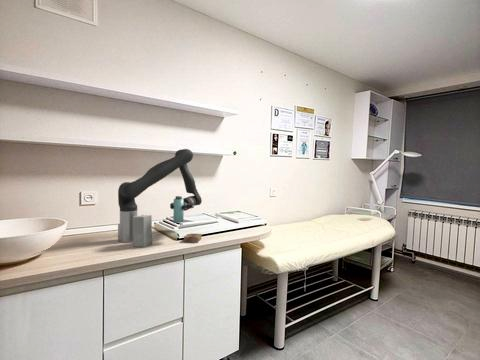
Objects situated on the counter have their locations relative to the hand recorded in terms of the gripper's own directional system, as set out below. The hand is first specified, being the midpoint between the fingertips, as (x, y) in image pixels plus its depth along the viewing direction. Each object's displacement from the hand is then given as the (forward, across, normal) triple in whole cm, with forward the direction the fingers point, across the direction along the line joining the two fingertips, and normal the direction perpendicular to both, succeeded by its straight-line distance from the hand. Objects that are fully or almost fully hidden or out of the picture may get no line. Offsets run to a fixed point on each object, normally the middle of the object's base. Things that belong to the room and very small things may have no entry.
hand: (177, 207), depth 141 cm
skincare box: (+8, -16, +20) cm, 27 cm away
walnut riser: (-5, +8, +20) cm, 22 cm away
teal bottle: (-3, 0, +8) cm, 9 cm away
